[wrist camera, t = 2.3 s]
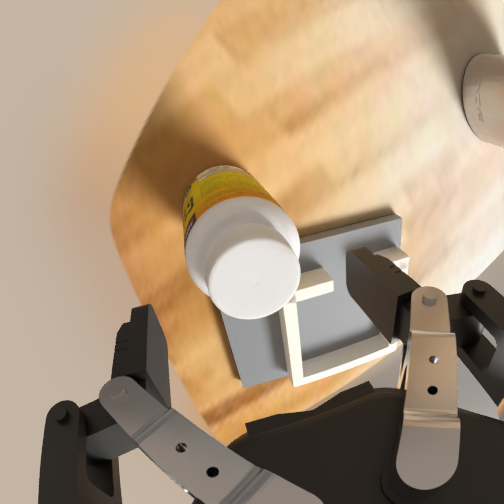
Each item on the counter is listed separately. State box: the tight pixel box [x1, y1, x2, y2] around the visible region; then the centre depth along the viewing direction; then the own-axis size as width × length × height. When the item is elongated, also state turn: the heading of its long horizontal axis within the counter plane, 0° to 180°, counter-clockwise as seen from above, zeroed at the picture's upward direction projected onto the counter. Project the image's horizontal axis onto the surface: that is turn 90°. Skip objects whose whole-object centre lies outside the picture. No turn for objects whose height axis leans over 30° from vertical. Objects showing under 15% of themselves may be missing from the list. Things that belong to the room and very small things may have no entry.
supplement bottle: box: [183, 165, 301, 319], centre depth 18 cm, size 6×6×10 cm
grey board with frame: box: [220, 214, 409, 388], centre depth 27 cm, size 16×14×3 cm
